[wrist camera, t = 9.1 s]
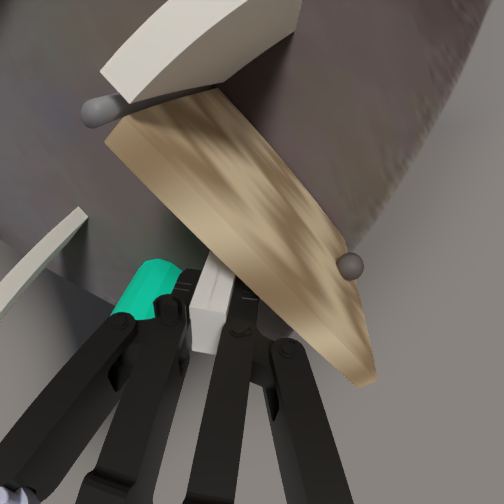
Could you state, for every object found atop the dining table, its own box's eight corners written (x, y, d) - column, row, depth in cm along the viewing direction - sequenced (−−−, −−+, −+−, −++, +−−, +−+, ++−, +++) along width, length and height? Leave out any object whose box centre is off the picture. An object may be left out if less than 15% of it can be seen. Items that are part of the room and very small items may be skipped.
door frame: (60, 231, 30) (-23, 323, 17) (281, 16, 17) (273, -72, 4) (69, 241, 31) (-11, 336, 18) (294, 31, 18) (311, -38, 5)
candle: (132, 256, 31) (78, 341, 21) (185, 260, 30) (143, 355, 20) (143, 299, 34) (103, 382, 24) (192, 304, 34) (161, 395, 24)
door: (206, 97, 21) (104, 141, 9) (233, 74, 20) (156, 80, 8) (333, 245, 27) (358, 388, 15) (358, 229, 26) (403, 368, 14)
